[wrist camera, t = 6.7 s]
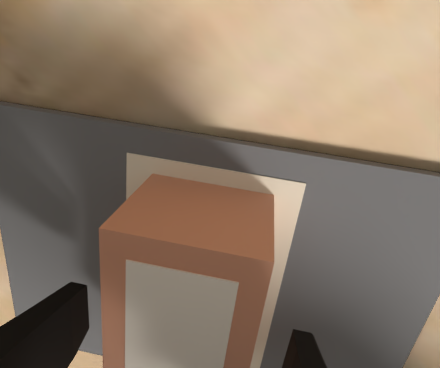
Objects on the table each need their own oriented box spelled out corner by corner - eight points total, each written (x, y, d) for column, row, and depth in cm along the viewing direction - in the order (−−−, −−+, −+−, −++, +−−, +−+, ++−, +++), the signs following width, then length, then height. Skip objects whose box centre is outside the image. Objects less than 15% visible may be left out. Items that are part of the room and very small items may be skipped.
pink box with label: (240, 352, 15) (229, 454, 11) (145, 331, 15) (104, 423, 11) (274, 194, 11) (274, 263, 8) (152, 173, 12) (97, 228, 8)
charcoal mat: (485, 180, 11) (495, 186, 10) (372, 408, 15) (376, 420, 15) (-11, 99, 12) (-23, 101, 12) (25, 328, 17) (18, 337, 17)
